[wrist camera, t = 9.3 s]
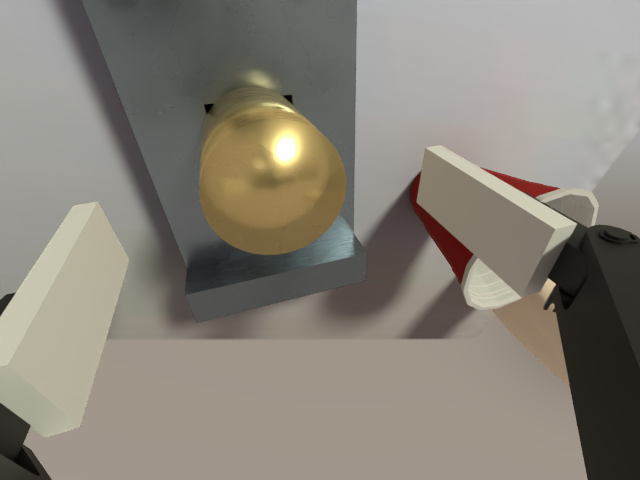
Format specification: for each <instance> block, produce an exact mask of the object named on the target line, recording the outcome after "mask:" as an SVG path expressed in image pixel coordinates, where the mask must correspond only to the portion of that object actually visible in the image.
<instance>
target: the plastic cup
mask: <svg viewBox="0 0 640 480" xmlns="http://www.w3.org/2000/svg"><path fill="white" fill-rule="evenodd" d="M479 168H480V167H479ZM481 169H483V170H485V171H486V172H488V173H490V174H491V175H493V176H495V177H497V178H498V179H500V180H502V181H504V182H505V183H507V184H509V185H511V186H512V187H514V188H516V189H518V190H519V191H522V192H525V193H528V194H530V195H531V196H533V197H535V198H537V199H538V200H540V202H544V203H545V204H547V205H549V206H550V208H554V209H556V210H558V211H559V212H561V213H563V214H565V215H566V216H568V217H570V218H572V219H574V220H575V221H577V222H579V223H581V224H582V225H584V226H586V227H588V228H589V227H591V226H594V225H595V220H596V216H597V211H598V206H599V204H598V202H597V200H596V198H595V197H594V195H593V193H592V192H591V191H586V190H581V189H574V188H568V187H564V188H557V187H551V186H546V185H543V184H539V183H533V182H528V181H525V180H522V179H518V178H515V177H511V176H508V175H504V174H501V173H498V172H494V171H491V170H487V169H484V168H481ZM420 177H421V172H420V173H419V175H418V176H417V177H416V178H415V180H414V182H413V185H412V187H411V189H410V201H411V203H412V206H413V208H414V210H415V212H416V214H417V215H418V216H419V218H420V219H421V221H422V222H423V224H424V226H425V228H426V230H427V231H428V233H429V234H430V236H431V237H432V239H433V240H434V242H435V243H436V245H437V246H438V248H439V249H440V251H441V252H442V254H443V255H444V257H445V258H446V260H447V261H448V263H449V264H450V266H451V267H452V270H453V272H454V273H455V275H456V276H457V278H458V281H459V283H460V284H461V289H462V292H463V295H464V298H465V301H466V303H467V305H469V306H471V307H474V308H476V309H478V310H487V309H496V308H500V307H502V306H505V305H507V304H510V303H512V302H515V301H517V300H520V299H521V298H523V297H521V296H519V295H518V294H517V293H516V292H515V291H514V290H513V289H512V288H511V287H510V286H508V285H507V284H506V283H505V282H504V281H503V280H502V279H501V278H500V277H499V276H497V275H496V274H495V273H494V272H493V271H492V270H491V269H490V268H489V267H487V266H486V265H485V264H484V263H483V262H482V261H481V260H480V259H479V258H478V257H476V256H475V255H474V254H473V253H472V252H471V251H470V250H469V249H468V248H467V247H465V246H464V245H463V244H462V243H461V242H460V241H459V240H458V239H457V238H455V237H454V236H453V235H452V234H451V233H450V232H449V231H448V230H447V229H446V228H444V227H443V226H442V225H441V224H440V223H439V222H438V221H437V220H436V219H435V218H433V217H432V216H431V215H430V214H429V213H428V212H427V211H426V210H425V209H424V208H422V207H421V206H420V205H419V204H418V203H417V196H418V190H419V183H420ZM548 280H549V278H548V279H547V280H546V282H547V281H548Z"/></svg>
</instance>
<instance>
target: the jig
mask: <svg viewBox="0 0 640 480" xmlns="http://www.w3.org/2000/svg"><path fill="white" fill-rule="evenodd" d="M81 1H82V3H83V6H84V9H85V11H86V14H87V16H88V19H89V21H90V24H91V26H92V29H93V31H94V34H95V36H96V39H97V42H98V44H99V47H100V49H101V52H102V54H103V57H104V59H105V62H106V64H107V67H108V70H109V72H110V75H111V77H112V80H113V82H114V85H115V87H116V90H117V92H118V95H119V97H120V100H121V103H122V105H123V108H124V110H125V113H126V115H127V118H128V120H129V123H130V125H131V128H132V131H133V133H134V136H135V138H136V141H137V143H138V146H139V148H140V151H141V153H142V156H143V158H144V161H145V164H146V166H147V169H148V171H149V174H150V176H151V179H152V181H153V184H154V186H155V189H156V192H157V194H158V197H159V199H160V202H161V204H162V207H163V209H164V212H165V214H166V217H167V219H168V222H169V225H170V227H171V230H172V232H173V235H174V237H175V240H176V242H177V245H178V247H179V250H180V253H181V255H182V258H183V260H184V263H185V265H186V268H187V275H186V287H185V297H186V299H187V301H188V304H189V306H190V308H191V311H192V313H193V315H194V318H195V320H196V322H197V323H198V322H202V321H206V320H210V319H214V318H218V317H222V316H226V315H230V314H234V313H238V312H242V311H246V310H250V309H254V308H258V307H262V306H266V305H270V304H274V303H278V302H282V301H286V300H290V299H294V298H298V297H302V296H306V295H310V294H314V293H318V292H322V291H326V290H330V289H334V288H338V287H342V286H346V285H350V284H354V283H358V282H362V281H366V269H367V252H366V251H365V249H364V248H363V246H362V245H361V243H360V242H359V240H358V239H357V238H356V236H355V235H354V233H353V232H354V163H355V95H356V26H357V0H81ZM243 87H262V88H266V89H269V90H272V91H274V92H276V93H278V94H280V95H282V96H283V95H284V98H286V99H287V100H288V101H289V102H290V103H291V104H292V105H293V106H294V107H295V108H296V109H297V110H298V111H299V112H300V113H301V114H302V115H303V116H304V117H305V118H306V119H308V120H309V121H310V122H311V123H312V124H313V125H314V126H315V127H316V128H317V129H318V130H319V131H320V132H321V133H322V134H323V135H324V136H325V137H326V138H327V139H328V140H329V141H330V142H331V143H332V144H333V146H334V147H335V148H336V150H337V151H338V153H339V155H340V157H341V159H342V162H343V165H344V168H345V173H346V194H345V199H344V202H343V205H342V208H341V210H340V212H339V214H338V216H337V218H336V219H335V221H334V222H333V224H332V225H331V226H330V227H329V229H328V230H327V231H326V232H325V233H324V234H323V235H321V236H320V237H319V238H318V239H316V240H315V241H313V242H312V243H310V244H309V245H307V246H305V247H303V248H300V249H298V250H295V251H292V252H288V253H284V254H278V255H260V254H253V253H249V252H246V251H243V250H240V249H238V248H235V247H234V246H232V245H230V244H228V243H227V242H226V241H224V240H223V239H222V238H220V237H219V236H218V235H217V234H216V233H215V232H214V230H213V229H212V228H211V226H210V225H209V223H208V222H207V220H206V218H205V216H204V213H203V211H202V208H201V203H200V197H199V181H200V158H201V136H202V127H203V123H204V120H205V117H206V115H207V113H208V109H207V105H206V104H212V103H215V102H216V101H217V100H218V99H219V98H221V97H222V96H223V95H225V94H226V93H228V92H230V91H232V90H235V89H238V88H243Z"/></svg>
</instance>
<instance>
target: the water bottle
mask: <svg viewBox="0 0 640 480" xmlns="http://www.w3.org/2000/svg"><path fill="white" fill-rule="evenodd" d="M555 285H556V284H555V283H554V282H553V281H551V280H550V279H549V280H548V281H547V282H545V284H544V286H543V288H542V290H541V291H540V292H538V293H534V294H531V295H528V296H524V297H523V298H521V299H520V300H517V301H515V302H512V303H510V304H507V305H505V306H502V307H500V308H496V309H492V311H493V312H494V313H495V315H496V316H497V317H498V318H499V319H500V321H501V322H502V323H503V324H504V325H505V327H506V328H507V329H508V330H509V331H510V332H511V333H512V334H513V335H514V336H515V337H516V338H517V339H518V340H519V341H520V342H521V343H522V344H523V345H524V346H525V347H526V348H527V349H528V350H529V351H530V352H531V353H532V354H534V356H535V357H536V358H538V359H539V360H540V361H541V362H542V363H543V364H544V365H545V366H546V367H547V368H548V369H549V370H550V371H551V372H552V373H553V374H555V375H556V376H557V377H558V378H560V379H561V380H562V381H564V382H565V383H566V384H568V385H569V386H570V384H569V379H568V374H567V369H566V364H565V358H564V353H563V348H562V343H561V337H560V332H559V327H558V322H557V317H556V312H552V311H553V309H554V308H555V306H554V304H551V305H550V306H549V308H548V309H547V310H543V307H544V304H545V302H546V300H547V299H548V297H549V295H550V293H551V292H552V290H553V288H554V286H555Z"/></svg>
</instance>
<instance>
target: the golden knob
mask: <svg viewBox="0 0 640 480" xmlns="http://www.w3.org/2000/svg"><path fill="white" fill-rule="evenodd" d="M345 194H346V173H345V168H344V165H343V162H342V159H341V157H340V155H339V153H338V151H337V150H336V148H335V147H334V146H333V144H332V143H331V142H330V141H329V140H328V139H327V138H326V137H325V136H324V135H323V134H322V133H321V132H320V131H319V130H318V129H317V128H316V127H315V126H314V125H313V124H312V123H311V122H310V121H309V120H308V119H306V118H305V117H304V116H303V115H302V114H301V113H300V112H299V111H298V110H297V109H296V108H295V107H294V106H293V105H292V104H291V103H290V102H289V101H288V100H287V99H286V98H284V97H283V96H282V95H280V94H278V93H276V92H274V91H272V90H269V89H266V88H262V87H243V88H238V89H235V90H232V91H230V92H228V93H226V94H225V95H223V96H222V97H221V98H219V99H218V100H217V101H216V102H215V103H214V104H213V106H212V107H211V108H210V110H209V111H208V113H207V115H206V117H205V120H204V123H203V127H202V136H201V158H200V181H199V197H200V203H201V208H202V211H203V213H204V216H205V218H206V220H207V222H208V223H209V225H210V226H211V228H212V229H213V230H214V232H215V233H216V234H217V235H218V236H219V237H220V238H222V239H223V240H224V241H226V242H227V243H228V244H230V245H232V246H234V247H235V248H238V249H240V250H243V251H246V252H249V253H253V254H260V255H278V254H284V253H288V252H292V251H295V250H298V249H300V248H303V247H305V246H307V245H309V244H310V243H312V242H313V241H315V240H316V239H318V238H319V237H320V236H321V235H323V234H324V233H325V232H326V231H327V230H328V229H329V227H330V226H331V225H332V224H333V222H334V221H335V219H336V218H337V216H338V214H339V212H340V210H341V208H342V205H343V202H344V199H345Z"/></svg>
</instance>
